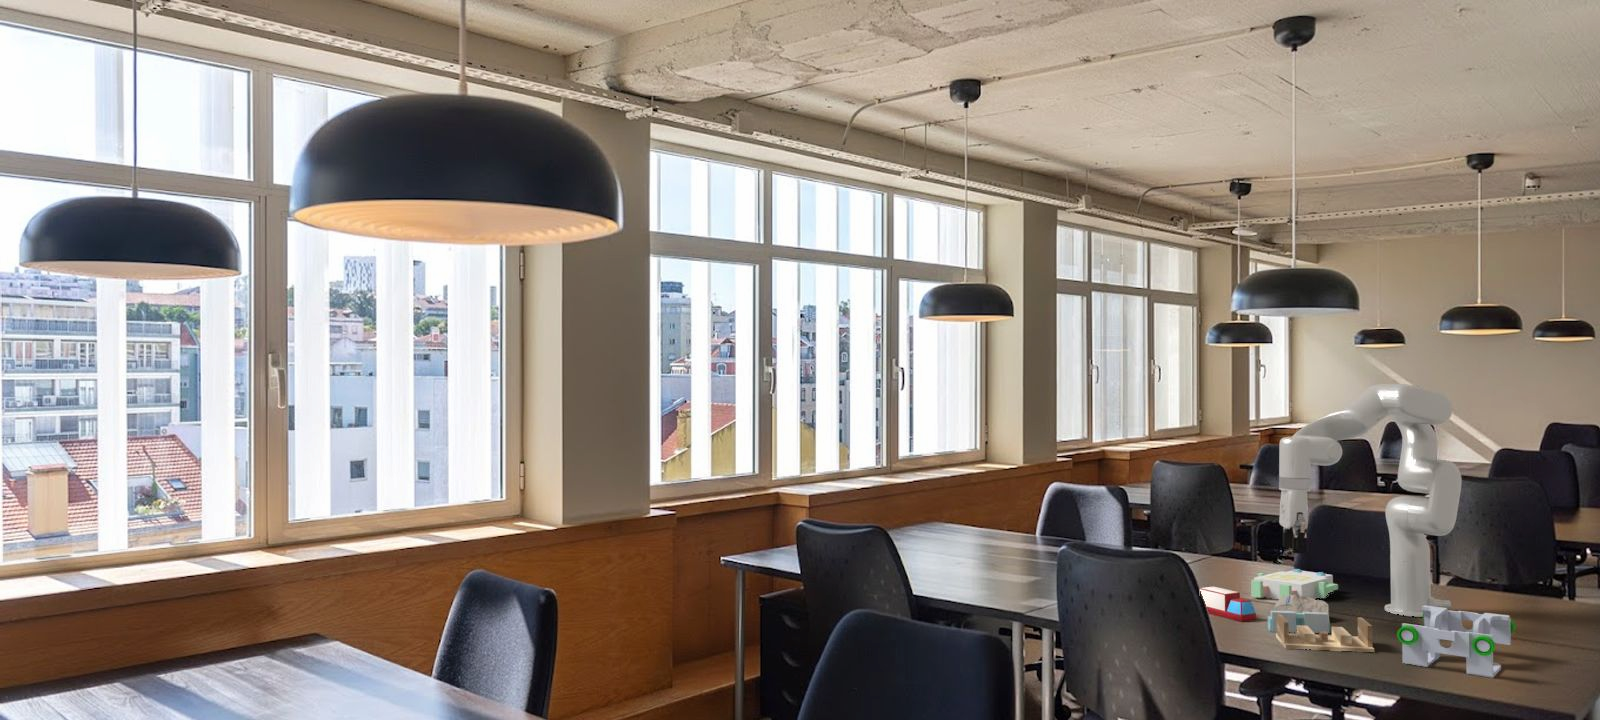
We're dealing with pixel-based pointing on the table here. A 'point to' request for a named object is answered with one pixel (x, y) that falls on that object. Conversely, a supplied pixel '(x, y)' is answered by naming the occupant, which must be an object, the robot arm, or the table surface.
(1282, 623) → the cradle
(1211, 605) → the toy truck
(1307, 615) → the blocks in teal channel
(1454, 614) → the bracket
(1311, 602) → the concrete fragment
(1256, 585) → the decorative block
